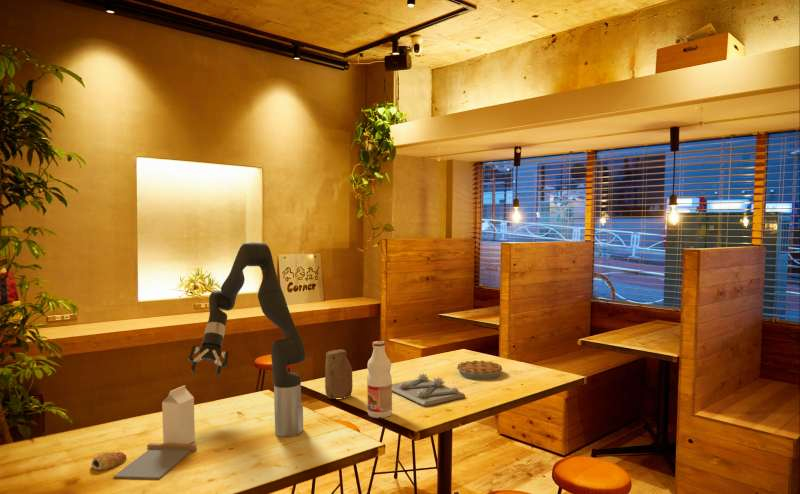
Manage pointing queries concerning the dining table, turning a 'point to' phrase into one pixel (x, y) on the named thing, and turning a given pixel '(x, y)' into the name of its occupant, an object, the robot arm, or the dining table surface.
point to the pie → (479, 369)
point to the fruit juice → (379, 382)
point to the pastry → (108, 460)
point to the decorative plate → (427, 391)
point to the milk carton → (178, 417)
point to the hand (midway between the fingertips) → (204, 374)
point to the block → (338, 374)
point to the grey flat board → (156, 461)
